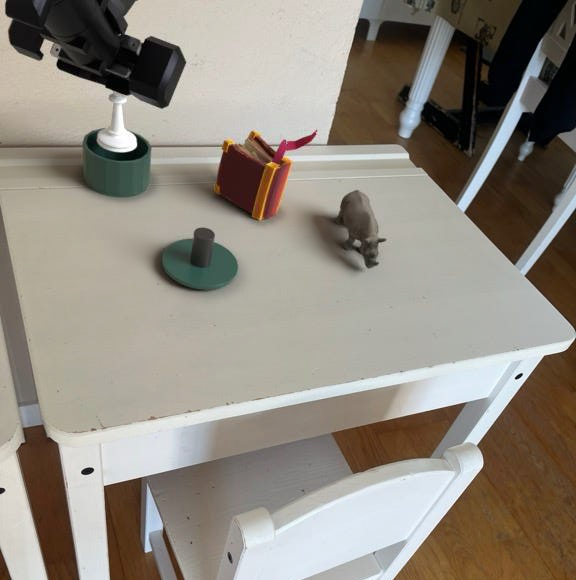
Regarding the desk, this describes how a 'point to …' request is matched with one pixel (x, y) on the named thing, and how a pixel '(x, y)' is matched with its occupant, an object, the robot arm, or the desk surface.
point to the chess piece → (117, 129)
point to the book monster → (256, 173)
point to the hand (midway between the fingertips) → (123, 87)
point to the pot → (116, 167)
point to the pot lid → (200, 261)
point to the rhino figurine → (360, 225)
